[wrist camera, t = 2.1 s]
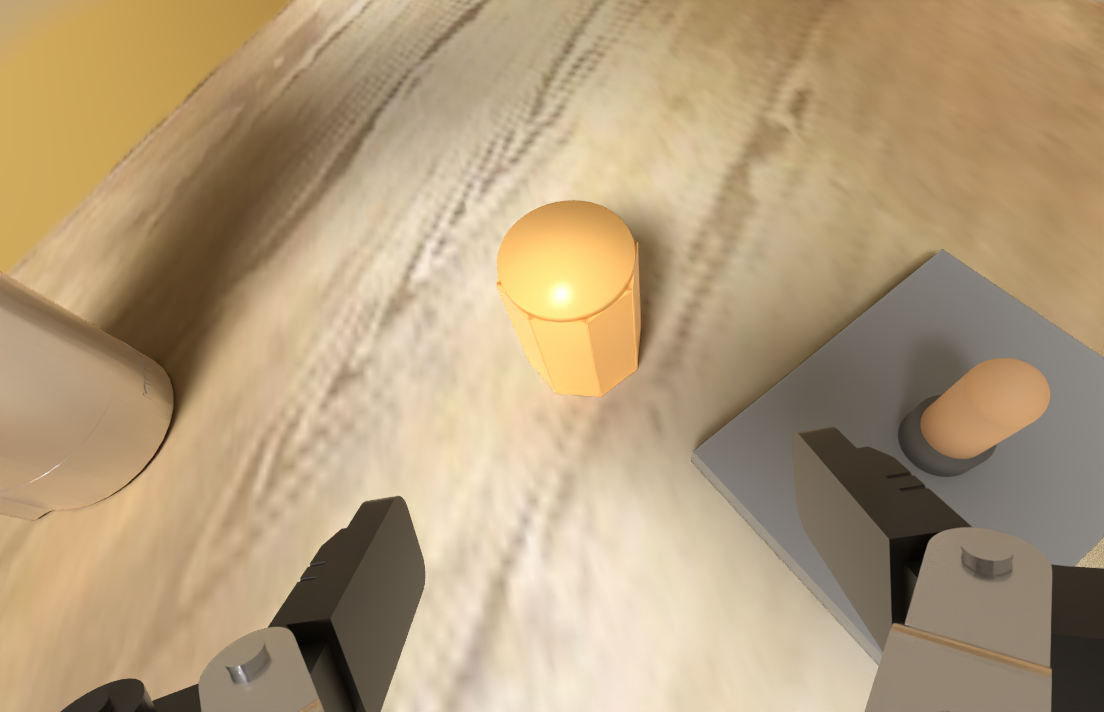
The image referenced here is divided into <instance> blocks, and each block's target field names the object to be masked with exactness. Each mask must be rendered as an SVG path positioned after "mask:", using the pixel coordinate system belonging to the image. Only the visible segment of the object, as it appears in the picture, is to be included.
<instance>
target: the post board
mask: <svg viewBox="0 0 1104 712" xmlns="http://www.w3.org/2000/svg"><path fill="white" fill-rule="evenodd" d="M831 426H833V427H835V428H837V429H838V430H839V431H840V432H841V433H842V434H843V435H844V436H845V437H846V438H847V439H848V440H849V441H850V442H851V443H852V444H853V445H854V446H855V447H856V448H861V447H867V446H869V447H871V448H874V449H876V450H878V451H881V452H883V453H885V454H888V455H890V456H892V457H894V458H895V459H897V460H898V461H899V462H900V463H901V464H902V465H903V466H904V467H906V468H907V469H908V470H909V471H910V472H911V475H912V476H913V475H915V476H916V477H917V478H918V479H919V480H920V481H921V482H922V483H924V484H925V487H926V488H929V489H930V490H931V491H933V492H934V493H935V494H936V495H937V496H938V497H939V498H940V499H941V500H943V501H944V502H945V503H946V504H947V505H948V506H949V507H950V508H952V509H953V510H954V511H955V512H956V513H957V514H958V515H959V516H961V517H962V518H963V519H964V520H965V521H966V522H967V523H968V524H970V525H971V526H972V527H973V528H984V529H991V530H995V531H999V532H1003V533H1006V534H1009V535H1012V536H1015V537H1017V538H1020V539H1022V540H1024V541H1026V542H1028V543H1030V544H1031V545H1033V546H1034V547H1036V548H1037V549H1038V550H1040V551H1041V552H1042V553H1043V554H1044V555H1045V556H1046V558H1047V559H1048V560H1049V562H1050V564H1053V565H1061V566H1072V567H1074V566H1075V565H1076V564H1077V563H1078V562H1079V561H1080V560H1081V559H1082V558H1083V557H1084V556H1085V555H1086V554H1087V553H1088V552H1089V551H1090V550H1091V549H1092V548H1093V547H1094V546H1095V545H1096V544H1097V543H1098V542H1099V541H1100V540H1101V539H1102V538H1103V537H1104V358H1103V357H1102V356H1100V355H1099V354H1097V353H1096V352H1094V351H1093V350H1091V349H1090V348H1088V347H1087V346H1085V345H1084V344H1083V343H1081V342H1080V341H1078V340H1077V339H1075V338H1074V337H1072V336H1071V335H1069V334H1068V333H1066V332H1065V331H1063V330H1062V329H1060V328H1059V327H1057V326H1056V325H1054V324H1053V323H1051V322H1050V321H1048V320H1047V319H1045V318H1044V317H1042V316H1041V315H1039V314H1038V313H1037V312H1035V311H1034V310H1032V309H1031V308H1029V307H1028V306H1026V305H1025V304H1023V303H1022V302H1020V301H1019V300H1017V299H1016V298H1014V297H1013V296H1011V295H1010V294H1008V293H1007V292H1005V291H1004V290H1002V289H1001V288H999V287H998V286H996V285H995V284H993V283H992V282H990V281H989V280H988V279H986V278H985V277H983V276H982V275H980V274H979V273H977V272H976V271H974V270H973V269H971V268H970V267H968V266H967V265H965V264H964V263H962V262H961V261H959V260H958V259H956V258H955V257H953V256H952V255H950V254H949V253H947V252H946V251H944V250H943V249H942V250H940V251H939V252H938V253H937V254H936V255H934V256H933V257H932V258H931V259H929V260H928V261H927V262H926V263H924V264H923V265H922V266H921V267H920V268H918V269H917V270H916V271H915V272H913V273H912V274H911V275H910V276H908V277H907V278H906V279H905V280H904V281H902V282H901V283H900V284H899V285H897V286H896V287H895V288H894V289H892V290H891V291H890V292H889V293H888V294H886V295H885V296H884V297H883V298H881V299H880V300H879V301H878V302H876V303H875V304H874V305H873V306H871V307H870V308H869V309H868V310H867V311H865V312H864V313H863V314H862V315H860V316H859V317H858V318H857V319H855V320H854V321H853V322H852V323H851V324H849V325H848V326H847V327H846V328H844V329H843V330H842V331H841V332H839V333H838V334H837V335H836V336H835V337H833V338H832V339H831V340H830V341H828V342H827V343H826V344H825V345H823V346H822V347H821V348H820V349H819V350H817V351H816V352H815V353H814V354H812V355H811V356H810V357H809V358H807V359H806V360H805V361H804V362H803V363H801V364H800V365H799V366H798V367H796V368H795V369H794V370H793V371H791V372H790V373H789V374H788V375H787V376H785V377H784V378H783V379H782V380H780V381H779V382H778V383H777V384H775V385H774V386H773V387H772V388H771V389H769V390H768V391H767V392H766V393H764V394H763V395H762V396H761V397H759V398H758V399H757V400H756V401H755V402H753V403H752V404H751V405H750V406H748V407H747V408H746V409H745V410H743V411H742V412H741V413H740V414H739V415H737V416H736V417H735V418H734V419H732V420H731V421H730V422H729V423H727V424H726V425H725V426H724V427H723V428H721V429H720V430H719V431H718V432H716V433H715V434H714V435H713V436H711V437H710V438H709V439H708V440H707V441H705V442H704V443H703V444H702V445H700V446H699V447H698V448H697V449H695V450H694V451H693V454H692V459H691V462H692V463H693V464H694V465H695V466H696V467H697V468H698V469H699V470H700V471H701V473H702V474H703V475H704V476H705V477H706V478H707V479H708V480H709V481H710V482H711V483H712V485H713V486H714V487H715V488H716V489H717V490H718V491H719V492H720V493H721V494H722V495H723V497H724V498H725V499H726V500H727V501H728V502H729V503H730V504H731V505H732V506H733V507H734V508H735V510H736V511H737V512H738V513H739V514H740V515H741V516H742V517H743V518H744V519H745V520H746V522H747V523H748V524H749V525H750V526H751V527H752V528H753V529H754V530H755V531H756V532H757V534H758V535H759V536H760V537H761V538H762V539H763V540H764V541H765V542H766V543H767V544H768V546H769V547H770V548H771V549H772V550H773V551H774V552H775V553H776V554H777V555H778V556H779V557H780V559H781V560H782V561H783V562H784V563H785V564H786V565H787V566H788V567H789V568H790V569H791V571H792V572H793V573H794V574H795V575H796V576H797V577H798V578H799V579H800V580H801V581H802V583H803V584H804V585H805V586H806V587H807V588H808V589H809V590H810V591H811V592H812V593H813V594H814V596H815V597H816V598H817V599H818V600H819V601H820V602H821V603H822V604H823V605H824V606H825V608H826V609H827V610H828V611H829V612H830V613H831V614H832V615H833V616H834V617H835V618H836V620H837V621H838V622H839V623H840V624H841V625H842V626H843V627H844V628H845V629H846V630H847V632H848V633H849V634H850V635H851V636H852V637H853V638H854V639H855V640H856V641H857V642H858V643H859V645H860V646H861V647H862V648H863V649H864V650H865V651H866V652H867V653H868V654H869V655H870V657H871V658H872V659H873V660H874V661H875V662H876V663H877V664H878V665H879V664H880V661H881V658H882V654H883V652H882V650H881V649H880V647H879V646H878V644H877V643H876V641H875V639H874V638H873V636H872V635H871V633H870V632H869V630H868V629H867V627H866V626H865V624H864V622H863V621H862V619H861V618H860V616H859V615H858V613H857V612H856V610H855V609H854V607H853V605H852V604H851V602H850V601H849V599H848V598H847V596H846V595H845V593H844V591H843V590H842V588H841V587H840V585H839V584H838V582H837V581H836V579H835V578H834V576H833V574H832V573H831V571H830V570H829V568H828V567H827V565H826V564H825V562H824V561H823V559H822V557H821V556H820V554H819V553H818V551H817V550H816V548H815V547H814V545H813V544H812V542H811V540H810V539H809V537H808V536H807V534H806V532H805V530H804V528H803V526H802V523H801V520H800V517H799V513H798V508H797V502H796V491H795V479H794V468H793V456H792V435H793V433H795V432H801V431H807V430H813V429H819V428H825V427H831Z"/></svg>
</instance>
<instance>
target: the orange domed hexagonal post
mask: <svg viewBox="0 0 1104 712" xmlns="http://www.w3.org/2000/svg"><path fill="white" fill-rule="evenodd" d="M497 269H498V274H499V275H498V280H497V283H496V286H497V288H498V290H499V293H500V295H501V297H502V300H503V302H504V304H505V307H506V309H507V311H508V314H509V316H510V318H511V321H512V323H513V325H514V328H515V330H516V332H517V335H518V337H519V339H520V342H521V344H522V346H523V349H524V351H525V353H526V356H527V358H528V360H529V363H531V364H532V366H533V367H534V368H535V369H536V370H537V371H538V373H539V374H540V375H541V376H542V377H543V379H544V380H545V381H546V382H547V383H548V385H549V386H550V387H551V388H552V389H553V391H554V392H555V393H556V394H557V393H558V394H571V395H584V396H597V397H602V396H603V395H604V394H606V393H607V392H608V391H610V390H611V389H612V388H613V387H615V386H616V385H617V384H619V383H620V382H621V381H623V380H624V379H625V378H626V377H628V376H629V375H630V374H632V373H633V372H634V371H636V370H637V369H638V366H637V364H638V353H639V342H640V331H641V310H640V281H639V253H638V241H636V240H635V239H633V237H632V234H631V232H630V230H629V228H628V227H627V225H626V224H625V223H624V221H623V220H622V219H621V218H620V217H619V216H617V215H616V214H615V213H614V212H612V211H610V210H609V209H607V208H605V207H603V206H600V205H598V204H594V203H591V202H585V201H574V200H573V201H561V202H555V203H551V204H547V205H545V206H542V207H539V208H537V209H535V210H533V211H531V212H530V213H528V214H526V215H525V216H524V217H522V218H521V219H520V220H518V221H517V222H516V223H515V224H514V225H513V226H512V228H511V229H510V230H509V231H508V233H507V234H506V236H505V237H504V239H503V241H502V243H501V246H500V249H499V252H498V258H497Z"/></svg>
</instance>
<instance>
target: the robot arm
mask: <svg viewBox="0 0 1104 712" xmlns="http://www.w3.org/2000/svg"><path fill="white" fill-rule="evenodd" d="M172 411H173V388H172V385H171V381H170V378H169V376H168V375H167V373H166V372H165V370H164V368H162V367H161V366H160V365H159V364H158V363H157V362H155V361H154V360H152V359H151V358H149V357H147V356H146V355H144V354H142V353H140V352H139V351H138V350H136V349H135V348H133V347H132V346H130V345H128V344H127V343H125V342H121V341H120V340H118V339H116V338H115V337H113V336H111V335H109V334H108V333H106V332H104V331H103V330H101V329H99V328H98V327H96V326H94V325H93V324H91V323H89V322H87V321H86V320H84V319H82V318H81V317H79V316H77V315H75V314H74V313H72V312H70V311H68V310H67V309H65V308H63V307H62V306H60V305H58V304H56V303H55V302H53V301H51V300H49V299H48V298H46V297H44V296H43V295H41V294H39V293H37V292H36V291H34V290H32V289H30V288H29V287H27V286H25V285H24V284H22V283H20V282H18V281H17V280H15V279H13V278H11V277H10V276H8V275H6V274H5V273H3V272H1V271H0V514H1V515H6V516H11V517H16V518H20V519H25V520H30V521H34V520H36V519H38V518H39V517H41V516H42V515H44V514H45V513H47V512H49V511H52V510H69V509H77V508H81V507H85V506H89V505H92V504H94V503H96V502H98V501H100V500H103V499H105V498H107V497H109V496H110V495H112V494H113V493H115V492H116V491H118V490H119V489H121V488H122V487H124V486H125V485H126V484H127V483H128V482H130V481H131V480H132V479H133V478H134V477H135V476H136V475H137V474H138V473H139V472H140V471H141V470H142V469H143V468H144V467H145V465H146V464H147V463H148V462H149V461H150V459H151V458H152V457H153V456H154V454H155V452H156V451H157V449H158V447H159V446H160V444H161V442H162V441H163V439H164V436H165V434H166V432H167V429H168V427H169V424H170V421H171V416H172ZM792 456H793V468H794V479H795V491H796V502H797V508H798V513H799V517H800V520H801V523H802V526H803V528H804V530H805V532H806V534H807V536H808V537H809V539H810V540H811V542H812V544H813V545H814V547H815V548H816V550H817V551H818V553H819V554H820V556H821V557H822V559H823V561H824V562H825V564H826V565H827V567H828V568H829V570H830V571H831V573H832V574H833V576H834V578H835V579H836V581H837V582H838V584H839V585H840V587H841V588H842V590H843V591H844V593H845V595H846V596H847V598H848V599H849V601H850V602H851V604H852V605H853V607H854V609H855V610H856V612H857V613H858V615H859V616H860V618H861V619H862V621H863V622H864V624H865V626H866V627H867V629H868V630H869V632H870V633H871V635H872V636H873V638H874V639H875V641H876V643H877V644H878V646H879V647H880V649H881V650H882V652H883V654H882V658H881V661H880V664H879V667H878V671H877V674H876V677H875V680H874V683H873V687H872V690H871V693H870V696H869V700H868V703H867V706H866V709H865V712H1104V569H1102V568H1087V567H1072V566H1061V565H1053V564H1050V562H1049V560H1048V559H1047V558H1046V556H1045V555H1044V554H1043V553H1042V552H1041V551H1040V550H1038V549H1037V548H1036V547H1034V546H1033V545H1031V544H1030V543H1028V542H1026V541H1024V540H1022V539H1020V538H1017V537H1015V536H1012V535H1009V534H1006V533H1003V532H999V531H995V530H991V529H984V528H973V527H972V526H971V525H970V524H968V523H967V522H966V521H965V520H964V519H963V518H962V517H961V516H959V515H958V514H957V513H956V512H955V511H954V510H953V509H952V508H950V507H949V506H948V505H947V504H946V503H945V502H944V501H943V500H941V499H940V498H939V497H938V496H937V495H936V494H935V493H934V492H933V491H931V490H930V489H929V488H926V487H925V484H924V483H922V482H921V481H920V480H919V479H918V478H917V477H916V476H915V475H913V476H912V475H911V472H910V471H909V470H908V469H907V468H906V467H904V466H903V465H902V464H901V463H900V462H899V461H898V460H897V459H895V458H894V457H892V456H890V455H888V454H885V453H883V452H881V451H878V450H876V449H874V448H871V447H869V446H867V447H861V448H856V447H855V446H854V445H853V444H852V443H851V442H850V441H849V440H848V439H847V438H846V437H845V436H844V435H843V434H842V433H841V432H840V431H839V430H838V429H837V428H835V427H833V426H831V427H825V428H819V429H813V430H807V431H801V432H795V433H793V435H792ZM300 579H301V581H300V582H297V584H296V586H295V587H294V589H293V590H292V592H291V593H290V595H289V596H288V598H287V599H286V601H285V602H284V604H283V605H282V607H281V608H280V610H279V611H278V613H277V614H276V616H275V617H274V619H273V620H272V622H271V623H270V625H269V626H268V628H264V629H261V630H257V631H255V632H252V633H250V634H247V635H245V636H243V637H241V638H240V639H238V640H236V641H234V642H233V643H232V644H230V645H229V646H227V647H226V648H225V649H223V650H222V651H221V652H220V653H219V654H218V655H216V656H215V657H214V658H213V659H212V661H211V662H210V663H209V664H208V665H207V667H206V668H205V670H204V671H203V673H202V675H201V677H200V680H199V684H196V685H193V686H191V687H188V688H185V689H183V690H180V691H177V692H175V693H172V694H169V695H167V696H164V697H161V698H159V699H156V700H153V701H152V700H151V698H150V696H149V694H148V692H147V690H146V688H145V686H144V685H143V683H142V682H141V681H140V680H137V679H121V680H117V681H114V682H111V683H108V684H105V685H103V686H101V687H98V688H96V689H94V690H92V691H90V692H89V693H87V694H85V695H83V696H82V697H80V698H79V699H77V700H76V701H74V702H73V703H71V704H70V705H68V706H67V707H66V708H65V709H63V710H62V711H61V712H381V709H382V706H383V703H384V700H385V697H386V695H387V692H388V689H389V686H390V683H391V680H392V678H393V675H394V672H395V669H396V666H397V663H398V661H399V658H400V655H401V652H402V649H403V646H404V644H405V641H406V638H407V635H408V632H409V629H410V626H411V624H412V621H413V618H414V615H415V612H416V609H417V607H418V604H419V601H420V598H421V595H422V592H423V589H424V585H425V565H424V559H423V556H422V552H421V549H420V546H419V543H418V539H417V536H416V533H415V530H414V527H413V523H412V520H411V517H410V514H409V511H408V507H407V505H406V502H405V501H404V499H403V498H402V497H401V496H395V497H389V498H383V499H377V500H371V501H365V502H364V503H362V505H361V506H360V508H359V509H358V511H357V513H356V514H355V516H354V517H353V519H352V521H351V522H350V524H349V525H348V527H347V528H344V529H341V530H340V531H339V532H337V533H336V534H335V535H334V536H333V537H332V538H330V539H329V540H328V541H327V542H326V543H325V544H323V545H322V546H321V548H320V549H319V551H318V552H317V554H316V555H315V557H314V558H313V560H312V561H311V563H310V567H307V569H306V570H305V572H304V573H303V575H302V576H301V578H300Z"/></svg>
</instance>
